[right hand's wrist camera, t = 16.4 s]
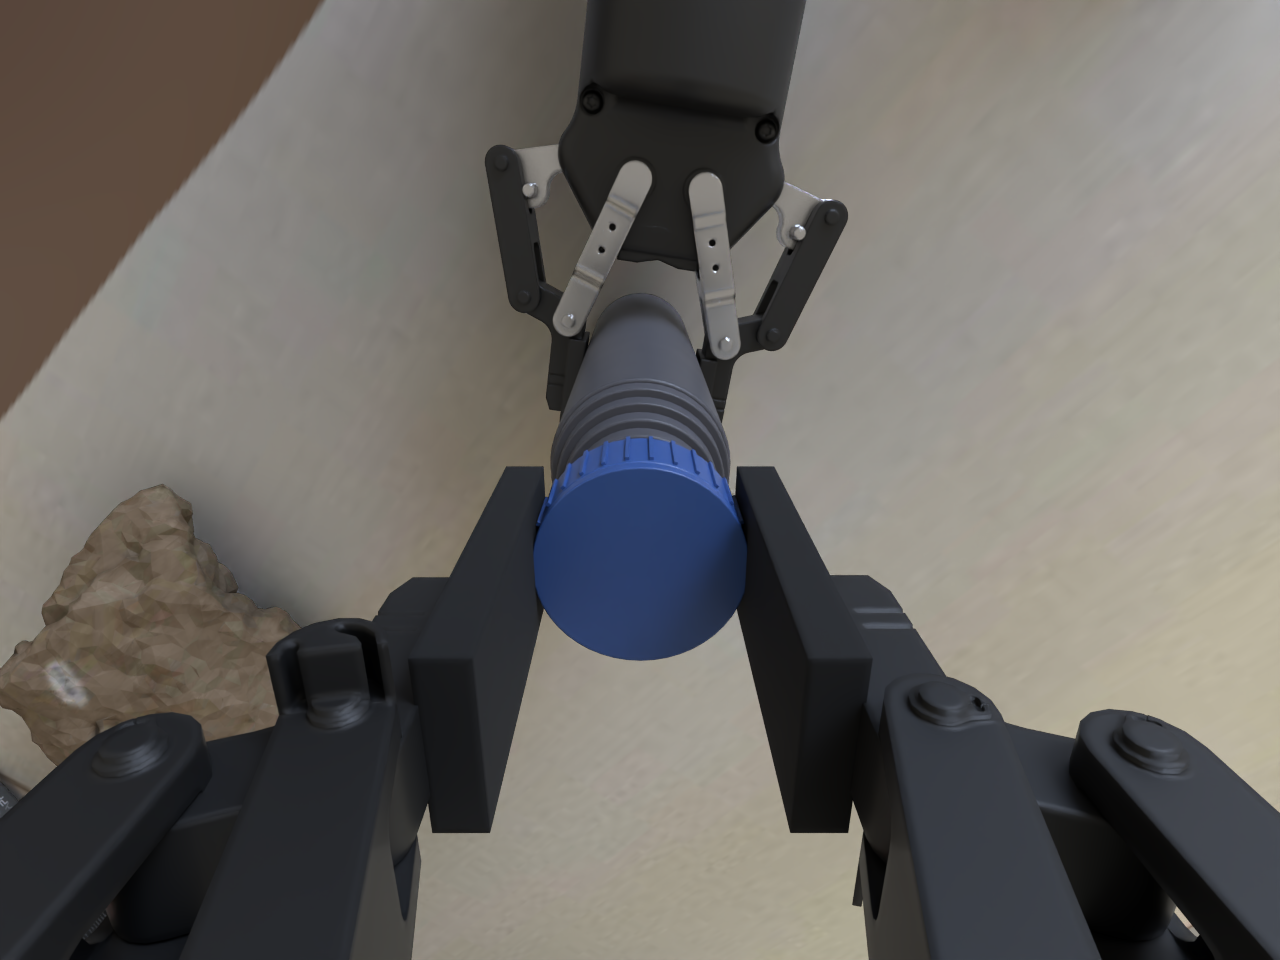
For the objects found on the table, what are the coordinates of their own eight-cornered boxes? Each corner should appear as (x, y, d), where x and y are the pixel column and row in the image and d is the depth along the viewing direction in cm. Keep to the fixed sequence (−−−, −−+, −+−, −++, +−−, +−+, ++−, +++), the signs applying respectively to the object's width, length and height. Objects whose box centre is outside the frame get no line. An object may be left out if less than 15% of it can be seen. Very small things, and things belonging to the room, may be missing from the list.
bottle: (701, 313, 35) (804, 493, 13) (666, 399, 36) (706, 689, 14) (612, 279, 34) (562, 406, 12) (581, 367, 36) (488, 621, 14)
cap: (767, 463, 14) (784, 496, 12) (707, 633, 16) (715, 683, 14) (565, 411, 14) (555, 438, 12) (522, 591, 15) (509, 637, 14)
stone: (-57, 626, 37) (-136, 698, 32) (171, 460, 38) (130, 504, 32) (251, 824, 47) (229, 905, 42) (431, 691, 47) (433, 754, 42)
